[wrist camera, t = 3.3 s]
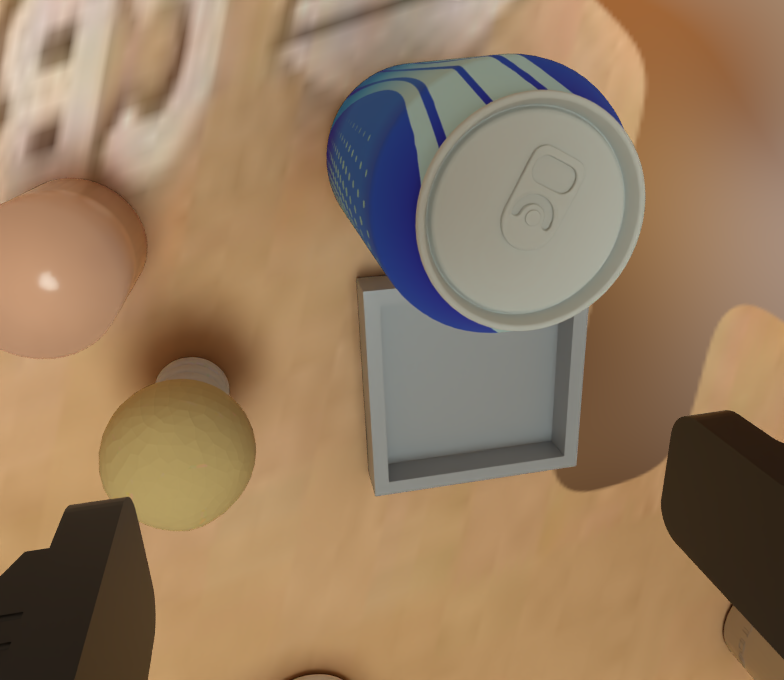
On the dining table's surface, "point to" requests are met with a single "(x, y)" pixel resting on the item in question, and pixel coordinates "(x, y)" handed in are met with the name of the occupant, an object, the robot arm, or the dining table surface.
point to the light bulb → (179, 448)
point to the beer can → (489, 188)
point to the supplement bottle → (318, 677)
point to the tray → (464, 395)
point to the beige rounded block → (65, 266)
